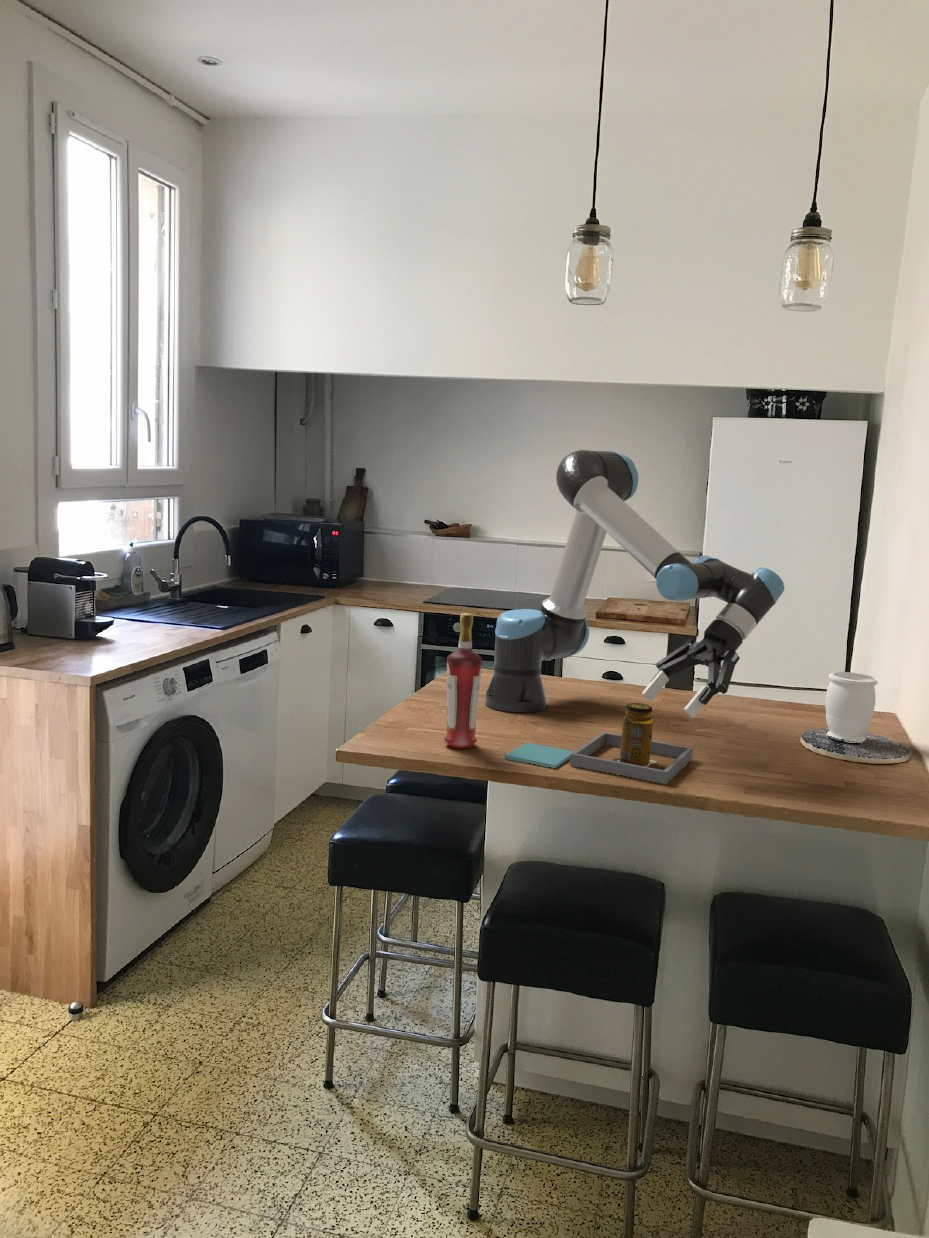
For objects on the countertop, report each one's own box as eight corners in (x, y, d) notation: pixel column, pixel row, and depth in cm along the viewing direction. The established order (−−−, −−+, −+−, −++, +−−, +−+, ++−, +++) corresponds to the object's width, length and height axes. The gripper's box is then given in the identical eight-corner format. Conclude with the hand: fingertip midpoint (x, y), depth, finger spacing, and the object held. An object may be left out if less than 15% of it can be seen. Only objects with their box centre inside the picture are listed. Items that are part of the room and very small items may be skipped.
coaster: (504, 758, 196) (504, 754, 196) (526, 745, 206) (526, 742, 206) (555, 768, 191) (555, 764, 191) (574, 755, 201) (575, 751, 201)
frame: (569, 765, 194) (570, 753, 193) (602, 742, 211) (603, 731, 210) (665, 784, 185) (666, 772, 184) (691, 759, 202) (692, 747, 202)
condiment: (657, 762, 199) (662, 705, 197) (639, 771, 192) (644, 713, 190) (625, 754, 203) (629, 699, 201) (606, 763, 196) (610, 706, 195)
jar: (877, 740, 224) (885, 677, 222) (860, 748, 217) (868, 683, 214) (832, 730, 231) (839, 669, 229) (814, 738, 224) (821, 674, 221)
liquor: (441, 740, 207) (447, 611, 202) (475, 741, 207) (482, 612, 203) (443, 750, 199) (450, 616, 195) (479, 751, 200) (486, 618, 196)
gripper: (781, 653, 193) (717, 732, 189) (698, 631, 215) (638, 702, 211) (763, 628, 190) (698, 708, 185) (681, 608, 212) (620, 680, 207)
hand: (666, 705), depth 198 cm, fingers open, 13 cm apart
